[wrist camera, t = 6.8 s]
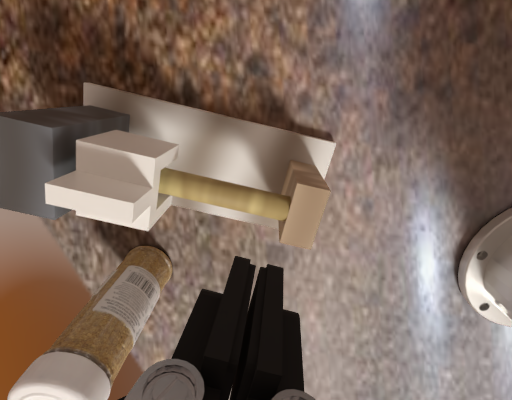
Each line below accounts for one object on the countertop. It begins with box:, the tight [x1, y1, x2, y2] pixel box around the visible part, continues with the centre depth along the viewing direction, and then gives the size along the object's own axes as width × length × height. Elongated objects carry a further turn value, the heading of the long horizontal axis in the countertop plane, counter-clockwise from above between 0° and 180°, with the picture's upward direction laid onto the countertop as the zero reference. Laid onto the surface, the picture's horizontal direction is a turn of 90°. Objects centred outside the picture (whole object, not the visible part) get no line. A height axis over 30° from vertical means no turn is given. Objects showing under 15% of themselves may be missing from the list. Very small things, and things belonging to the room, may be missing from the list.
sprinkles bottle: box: [8, 246, 172, 400], centre depth 21 cm, size 5×5×13 cm
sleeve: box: [45, 130, 179, 231], centre depth 16 cm, size 4×4×6 cm
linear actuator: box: [0, 82, 336, 250], centre depth 19 cm, size 19×8×9 cm, turn 77°
